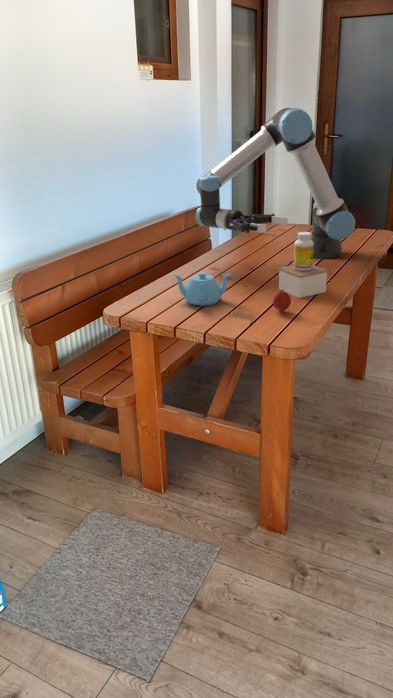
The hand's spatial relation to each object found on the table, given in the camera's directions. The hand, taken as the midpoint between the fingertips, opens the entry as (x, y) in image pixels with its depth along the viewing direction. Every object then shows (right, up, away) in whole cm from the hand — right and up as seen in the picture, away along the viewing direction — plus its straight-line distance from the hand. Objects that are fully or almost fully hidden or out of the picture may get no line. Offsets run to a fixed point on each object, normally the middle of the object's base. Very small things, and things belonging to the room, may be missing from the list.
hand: (276, 225), depth 208 cm
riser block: (+9, -24, +1) cm, 25 cm away
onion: (-1, -33, -18) cm, 38 cm away
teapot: (-27, -29, -7) cm, 40 cm away
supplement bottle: (+9, -16, -2) cm, 19 cm away
